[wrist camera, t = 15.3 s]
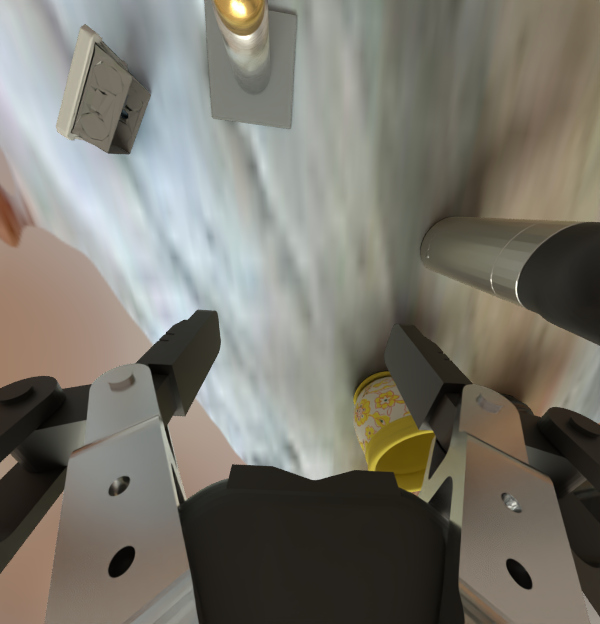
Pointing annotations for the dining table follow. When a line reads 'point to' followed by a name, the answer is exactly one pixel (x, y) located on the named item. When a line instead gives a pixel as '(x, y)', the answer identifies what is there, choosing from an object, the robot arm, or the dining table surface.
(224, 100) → the mat
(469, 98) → the dining table surface
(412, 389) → the robot arm
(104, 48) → the electrical switch
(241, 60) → the canister
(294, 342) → the dining table surface
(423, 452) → the flowerpot
